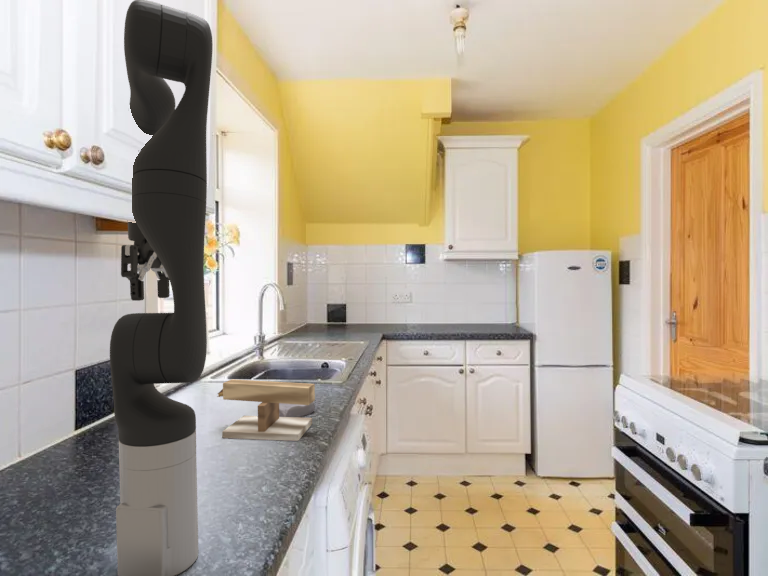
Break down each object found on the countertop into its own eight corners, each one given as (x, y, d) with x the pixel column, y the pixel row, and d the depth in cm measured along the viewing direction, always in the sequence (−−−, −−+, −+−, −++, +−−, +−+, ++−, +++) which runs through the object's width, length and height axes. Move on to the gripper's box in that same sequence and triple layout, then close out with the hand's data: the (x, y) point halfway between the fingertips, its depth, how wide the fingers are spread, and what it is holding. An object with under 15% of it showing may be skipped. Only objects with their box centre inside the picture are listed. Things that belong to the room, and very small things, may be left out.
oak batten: (308, 405, 110) (308, 388, 109) (223, 399, 115) (222, 383, 114) (314, 400, 113) (314, 383, 113) (232, 395, 119) (231, 379, 118)
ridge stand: (298, 441, 107) (297, 408, 107) (222, 438, 110) (221, 405, 109) (312, 423, 119) (311, 394, 119) (243, 421, 121) (243, 392, 121)
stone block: (259, 424, 125) (286, 423, 119) (257, 406, 125) (284, 404, 120) (292, 414, 135) (318, 413, 129) (290, 397, 135) (316, 395, 130)
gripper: (144, 212, 86) (146, 301, 87) (186, 220, 100) (188, 297, 101) (106, 213, 87) (108, 301, 87) (153, 220, 101) (154, 296, 102)
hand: (151, 299), depth 94 cm, fingers open, 8 cm apart
